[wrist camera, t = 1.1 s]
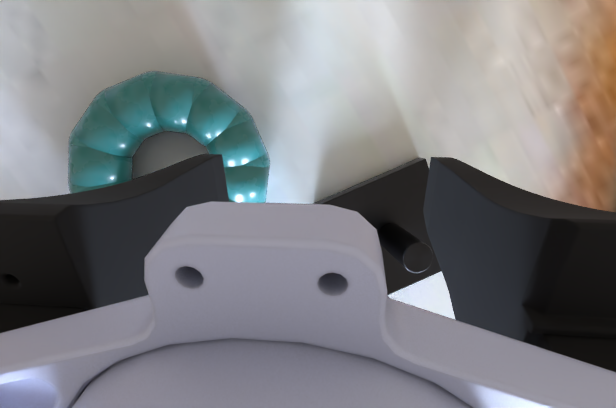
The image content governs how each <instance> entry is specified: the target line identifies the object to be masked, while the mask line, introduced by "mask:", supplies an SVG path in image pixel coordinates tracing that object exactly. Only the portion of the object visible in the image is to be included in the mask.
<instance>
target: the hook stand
mask: <svg viewBox="0 0 616 408" xmlns="http://www.w3.org/2000/svg"><path fill="white" fill-rule="evenodd" d="M428 174H429V168H428V165H427V162H426V159H424V158H417V159H415V160H413V161H410V162H408V163H406V164H404V165H401V166H399V167H397V168H394V169H392V170H390V171H387V172H385V173H383V174H381V175H378V176H376V177H374V178H371V179H369V180H367V181H364V182H362V183H360V184H358V185H355V186H353V187H351V188H348V189H346V190H344V191H341V192H339V193H337V194H335V195H332V196H330V197H328V198H325V199H323V200H321V201H318V202H316V203H314V204H325V205H333V206H337V207H341V208H345V209H348V210H352V211H356V212H358V213H359V214H360V215H361V216H362V217H364V218H365V219H366V220H367V221H368V222H369V223H370V224H371V225H372V226H373V227H374V228H376V229H377V233H378V237H379V242H380V246H381V250H382V256H383V264H384V271H385V279H386V286H387V295H389V294H391V293H394V292H396V291H398V290H400V289H403V288H405V287H407V286H409V285H411V284H414V283H416V282H418V281H420V280H423V279H425V278H427V277H429V276H431V275H434V274H436V273H438V272H440V271H442V270H441V268H440V265H439V263H438V260H437V257H436V255H435V252H434V249H433V247H432V244H431V241H430V239H429V236H428V233H427V228H426V224H425V218H424V213H423V207H424V201H425V194H426V188H427V181H428Z"/></svg>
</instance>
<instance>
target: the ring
mask: <svg viewBox="0 0 616 408" xmlns="http://www.w3.org/2000/svg"><path fill="white" fill-rule="evenodd" d="M162 131H172V132H180V133H187V134H189V135H190V136H191V137H193V138H194V139H195V140H197V141H198V142H200V143H201V144H202V145H204V146H205V147H206V149H207V151H208V153H209V154H222V157H223V164H224V170H225V177H226V184H227V191H228V197H229V202H250V203H265V202H266V194H267V185H268V176H269V167H270V160H269V155H268V152H267V150H266V148H265V146H264V143H263V141H262V139H261V136H260V134H259V132H258V130H257V127H256V125H255V123H254V120H253V118H252V116H251V115H250V113H249V112H248V111H247V110H246V109H245V108H244V107H243V106H241V105H240V104H239V103H237V102H236V101H235V100H234V99H232V98H231V97H230V96H228V95H227V94H226V93H224V92H223V91H222V90H221V89H219V88H218V87H217V86H215V85H214V84H213V83H211V82H210V81H208V80H205V79H202V78H198V77H192V76H185V75H178V74H172V73H165V72H157V71H151V72H146V73H143V74H140V75H138V76H136V77H133V78H131V79H128V80H126V81H123V82H121V83H118V84H116V85H114V86H111V87H109V88H106V89H105V90H103V91H101V92H100V93H99V94H98V95H97V96H96V97H95V98H94V100H93V101H92V103H91V104H90V105H89V107H88V108H87V110H86V111H85V113H84V114H83V116H82V117H81V119H80V120H79V122H78V123H77V124H76V126H75V127H74V129H73V130H72V132H71V134H70V137H69V151H68V186H69V190H70V192H71V194H72V193H78V192H83V191H88V190H93V189H99V188H104V187H108V186H112V185H116V184H119V183H123V182H127V181H130V180H132V159H133V155H134V154H135V152H136V151H137V149H138V148H139V146H140V145H141V144H142V142H143V141H144V139H146V138H148V137H150V136H153V135H155V134H158V133H160V132H162Z"/></svg>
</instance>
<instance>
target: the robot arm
mask: <svg viewBox="0 0 616 408" xmlns="http://www.w3.org/2000/svg"><path fill="white" fill-rule="evenodd" d="M423 213H424V218H425V224H426V228H427V233H428V236H429V239H430V241H431V244H432V247H433V249H434V252H435V255H436V257H437V260H438V263H439V265H440V268H441V270H442V273H443V276H444V278H445V281H446V284H447V287H448V290H449V294H450V298H451V302H452V306H453V311H454V315H455V319H456V320H454V319H451V318H448V317H445V316H442V315H439V314H436V313H433V312H430V311H427V310H424V309H421V308H418V307H414V306H411V305H408V304H405V303H402V302H399V301H396V300H393V299H390V298H389V297H388V296H387V286H386V279H385V271H384V264H383V256H382V250H381V246H380V242H379V237H378V233H377V229H376V228H374V227H373V226H372V225H371V224H370V223H369V222H368V221H367V220H366V219H365V218H364V217H362V216H361V215H360V214H359V213H358V212H356V211H352V210H348V209H345V208H341V207H337V206H333V205H325V204H287V203H250V202H229V197H228V191H227V184H226V177H225V170H224V164H223V157H222V154H203V155H198V156H195V157H192V158H189V159H187V160H184V161H182V162H179V163H177V164H174V165H172V166H169V167H167V168H164V169H161V170H159V171H156V172H153V173H150V174H148V175H145V176H142V177H139V178H136V179H133V180H130V181H127V182H123V183H119V184H116V185H112V186H108V187H104V188H99V189H93V190H88V191H83V192H78V193H72V194H65V195H58V196H50V197H41V198H30V199H15V200H0V408H616V213H615V212H608V211H602V210H597V209H592V208H587V207H582V206H578V205H573V204H569V203H565V202H561V201H557V200H554V199H550V198H546V197H543V196H540V195H537V194H534V193H531V192H528V191H525V190H523V189H520V188H517V187H515V186H512V185H510V184H508V183H505V182H503V181H501V180H498V179H496V178H494V177H492V176H490V175H488V174H486V173H484V172H482V171H480V170H478V169H476V168H474V167H472V166H470V165H468V164H466V163H464V162H461V161H459V160H457V159H454V158H448V157H431V161H430V168H429V174H428V181H427V188H426V194H425V201H424V207H423Z"/></svg>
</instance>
